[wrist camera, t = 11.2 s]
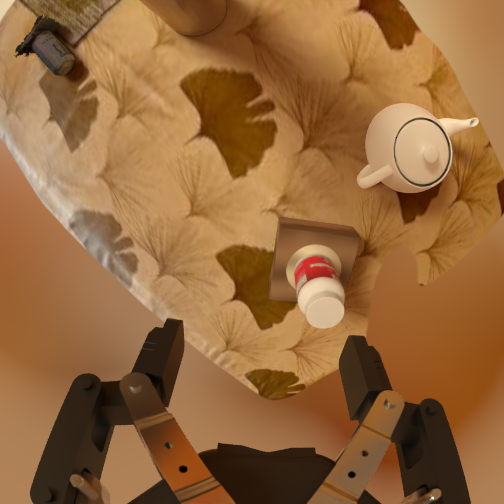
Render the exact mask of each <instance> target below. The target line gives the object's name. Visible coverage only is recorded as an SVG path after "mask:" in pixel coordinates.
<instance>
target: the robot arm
mask: <svg viewBox="0 0 504 504" xmlns="http://www.w3.org/2000/svg"><path fill="white" fill-rule="evenodd" d="M139 1H141V2H142V3H143V4H144V5H146V6H147V7H148V8H149V9H150V10H151V11H153V12H154V13H155V14H156V15H157V16H158V17H160V18H161V19H162V20H163V21H164V22H165V23H166V24H168V25H169V26H170V27H171V28H172V29H173V30H175V31H176V32H178V33H180V34H182V35H186V36H197V35H202V34H205V33H207V32H210V31H211V30H213V29H214V28H216V27H217V26H218V25H219V24H220V23H221V22H222V20H223V19H224V17H225V14H226V10H227V6H226V1H225V0H139ZM183 353H184V328H183V320H177V319H170V318H167V319H166V322H165V324H164V327H163V328H159V327H155V328H154V329H153V330H152V331H151V332H149V333H148V336H147V338H146V340H145V343H144V344H143V347H142V349H141V351H140V354H139V356H138V358H137V360H136V363H135V365H134V368H133V370H132V372H131V373H129V374H127V375H126V376H124V377H123V378H122V379H121V380H120V381H113V382H112V381H110V382H101V381H100V379H99V378H98V377H97V376H95V375H93V374H82V375H79V376H78V377H77V378H76V379H75V380H74V381H73V383H72V385H71V387H70V390H69V392H68V394H67V396H66V398H65V400H64V403H63V405H62V407H61V409H60V412H59V414H58V417H57V419H56V421H55V424H54V426H53V429H52V431H51V434H50V436H49V438H48V441H47V444H46V446H45V449H44V451H43V454H42V457H41V460H40V462H39V465H38V468H37V471H36V474H35V477H34V480H33V483H32V486H31V490H30V497H31V500H32V502H33V503H34V504H110V494H109V492H108V490H107V488H106V487H105V486H104V485H103V484H102V483H101V482H100V478H101V474H102V470H103V466H104V462H105V459H106V455H107V451H108V448H109V444H110V440H111V437H112V434H113V430H114V427H115V425H134V426H135V428H136V430H137V432H138V434H139V436H140V438H141V440H142V442H143V444H144V446H145V448H146V450H147V452H148V454H149V456H150V458H151V460H152V462H153V464H154V465H155V468H156V469H157V471H158V473H159V475H160V476H161V478H162V480H161V481H159V482H158V483H157V484H155V485H154V486H152V487H151V488H150V489H148V490H147V491H145V492H144V493H142V494H141V495H140V496H138V497H137V498H135V499H134V500H132V501H131V502H129V503H128V504H381V503H380V502H379V501H378V500H376V499H375V498H374V497H373V496H372V495H371V494H369V493H368V492H367V491H366V490H365V488H366V486H367V484H368V482H369V481H370V479H371V477H372V476H373V474H374V472H375V470H376V468H377V467H378V465H379V463H380V461H381V459H382V458H383V456H384V454H385V452H386V450H387V448H388V446H389V444H390V442H394V443H395V445H396V450H397V455H398V460H399V466H400V471H401V477H402V483H403V490H404V497H405V498H404V499H403V500H402V501H401V503H400V504H471V501H470V497H469V492H468V488H467V484H466V480H465V476H464V472H463V469H462V465H461V461H460V458H459V455H458V451H457V448H456V445H455V442H454V439H453V435H452V432H451V429H450V426H449V423H448V420H447V417H446V415H445V412H444V409H443V407H442V405H441V404H440V403H439V402H438V401H436V400H434V399H425V400H423V401H422V402H421V403H420V405H418V404H413V403H407V402H404V400H403V398H402V397H401V396H400V395H399V394H398V393H396V392H394V391H393V390H392V387H391V385H390V382H389V379H388V376H387V374H386V371H385V369H384V366H383V363H382V360H381V357H380V355H379V353H378V352H377V350H376V349H375V348H374V347H373V346H368V344H367V341H366V339H365V337H364V336H355V335H349V336H348V338H347V341H346V343H345V346H344V348H343V351H342V353H341V356H340V359H339V370H340V374H341V378H342V383H343V387H344V391H345V396H346V401H347V405H348V410H349V415H350V420H359V425H358V427H357V429H356V430H355V432H354V433H353V435H352V436H351V438H350V439H349V441H348V443H347V444H346V445H345V447H344V449H343V450H342V451H341V453H340V454H339V456H338V457H337V458H336V460H335V461H333V460H331V459H329V458H327V457H325V456H322V455H319V454H316V452H315V448H289V449H284V450H279V451H274V452H263V451H259V450H256V449H252V448H249V447H245V446H242V445H231V444H222V443H218V447H217V449H212V450H207V451H204V452H201V453H198V454H197V453H196V452H195V450H194V448H193V447H192V445H191V444H190V442H189V441H188V439H187V438H186V436H185V435H184V433H183V431H182V430H181V428H180V426H179V425H178V423H177V422H176V420H175V418H174V417H173V415H172V414H169V413H168V411H167V410H166V408H165V407H168V406H169V403H170V399H171V396H172V392H173V389H174V385H175V381H176V378H177V374H178V371H179V367H180V364H181V361H182V357H183Z"/></svg>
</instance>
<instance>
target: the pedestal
mask: <svg viewBox="0 0 504 504" xmlns="http://www.w3.org/2000/svg"><path fill="white" fill-rule="evenodd" d="M359 242H360V237H359V236H358V234H357V233H356V232H355V230H354V229H353V228H352V227H350V226H343V225H336V224H329V223H322V222H315V221H307V220H300V219H292V218H284V217H279V221H278V227H277V234H276V241H275V248H274V254H273V261H272V268H271V274H270V281H269V299H270V300H280V301H290V302H298V301H297V293H296V286H295V279H294V268H295V266H296V264H297V262H298V261H299V260H300V259H301V258H302V257H304V256H305V255H308V254H311V253H319V254H323V255H325V256H327V257H328V258H329V259H330V260H331V261H332V263H333V265H334V267H335V270H336V272H337V274H338V277H339V279H340V282H341V284H342V287H343V289H344V293H346V290H347V287H348V283H349V280H350V276H351V273H352V269H353V265H354V262H355V258H356V254H357V250H358V246H359Z"/></svg>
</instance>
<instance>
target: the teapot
mask: <svg viewBox="0 0 504 504" xmlns="http://www.w3.org/2000/svg"><path fill="white" fill-rule="evenodd" d="M478 123H479V119H478V118H472V119H468V120H457V119H451V118H442V119H437V118H436V117H434V116H433V115H432V114H431V113H430V112H428V111H427V110H425V109H423V108H422V107H420V106H417V105H413V104H408V103H398V104H393V105H390V106H388V107H386V108H384V109H383V110H381V111H380V112H378V114H377V115H376V116H375V117H374V118H373V119H372V121H371V123H370V125H369V127H368V130H367V133H366V139H365V152H366V156H367V160H368V163H369V164H368V165H367V166H365V167H364V168H363V169H362V170H361V171H360V173H359V174H358V176H357V183H358V185H359V186H360V187H361V188H363V189H366V188H369V187H371V186H373V185H375V184H377V183H379V182H382V183H383V184H385V185H386V186H387V187H389V188H391V189H393V190H396V191H398V192H403V193H417V192H421V191H425V190H428V189H430V188H432V187H434V186H436V185H437V184H438V183H440V182H441V181H442V180H443V179H444V178H445V176H446V175H447V173H448V171H449V169H450V166H451V163H452V154H453V151H452V144H451V141H450V138H449V137H451V136H453V135H455V134H457V133H459V132H462V131H464V130H467V129H470V128H473V127H475V126H476V125H477V124H478ZM400 129H401V131H400V133H399V134H398V132H399V130H400ZM397 134H398V137H397V140H396V144H395V157H396V161H397V162H395V158H394V143H395V139H396V136H397Z"/></svg>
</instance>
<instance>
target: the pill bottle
mask: <svg viewBox="0 0 504 504" xmlns="http://www.w3.org/2000/svg"><path fill="white" fill-rule="evenodd" d="M294 279H295V286H296V293H297V301H298V305H299V308H300V310H301V311H302V313H303V314H305V315H306V317H307V320H308V322H309V323H310V324H311V325H312V326H314V327H316V328H321V329H324V328H330V327H333V326H335V325H336V324H338V323H339V322H340V321H341V319H342V318H343V316H344V305H343V304H344V301H345V293H344V289H343V287H342V284H341V282H340V279H339V277H338V274H337V272H336V270H335V267H334V265H333V263H332V261H331V260H330V259H329V258H328V257H327V256H325V255H323V254H319V253H311V254H308V255H305V256H304V257H302V258H301V259H300V260H299V261H298V262H297V264H296V266H295V268H294Z"/></svg>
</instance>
